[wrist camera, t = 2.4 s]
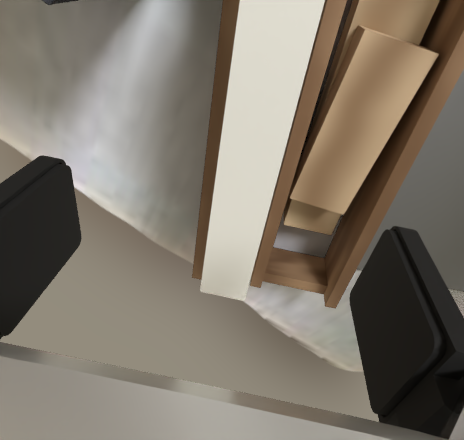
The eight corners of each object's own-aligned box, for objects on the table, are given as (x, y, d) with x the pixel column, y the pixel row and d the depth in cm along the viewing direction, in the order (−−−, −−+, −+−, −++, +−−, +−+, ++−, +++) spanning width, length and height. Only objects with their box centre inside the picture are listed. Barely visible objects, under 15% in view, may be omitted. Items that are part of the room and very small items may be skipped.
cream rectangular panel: (336, -123, 19) (390, -247, 8) (259, 196, 32) (244, 301, 22) (284, -132, 19) (276, -266, 9) (229, 190, 32) (199, 291, 22)
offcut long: (475, -123, 18) (503, -138, 16) (328, 216, 33) (331, 235, 30) (396, -139, 19) (412, -157, 16) (284, 206, 33) (283, 224, 31)
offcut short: (425, 47, 21) (439, 54, 19) (340, 198, 28) (343, 214, 26) (358, 24, 21) (365, 29, 19) (289, 183, 28) (289, 198, 26)
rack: (600, -313, 14) (737, -442, 10) (330, 268, 36) (335, 308, 32) (283, -364, 15) (279, -510, 10) (204, 241, 36) (192, 277, 32)
